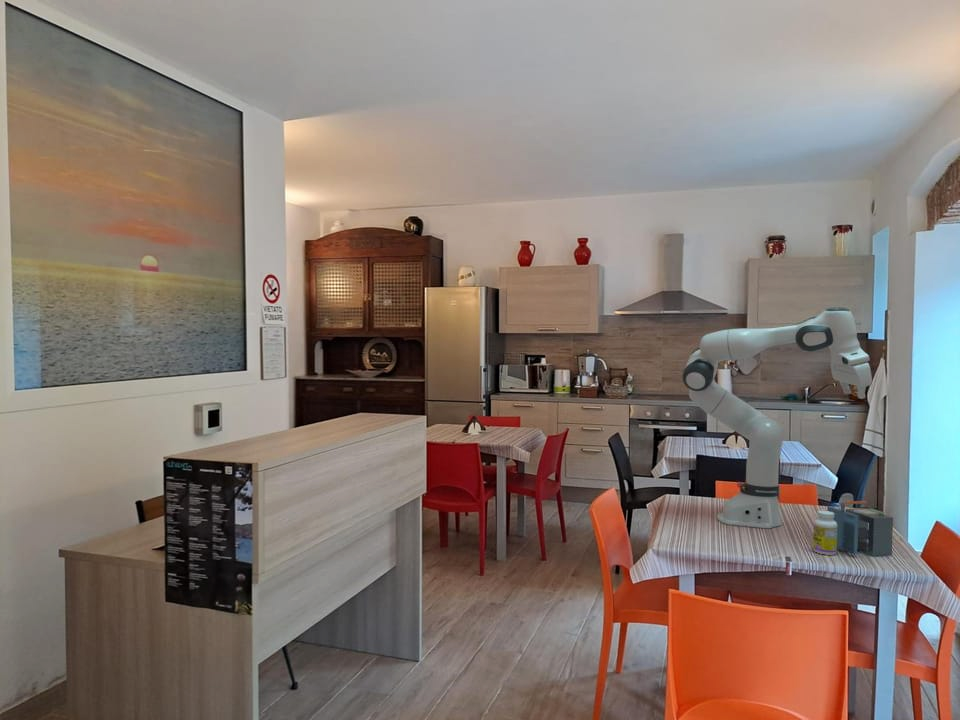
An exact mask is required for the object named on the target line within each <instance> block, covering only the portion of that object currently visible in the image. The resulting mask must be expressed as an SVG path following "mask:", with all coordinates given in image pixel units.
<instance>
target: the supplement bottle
mask: <svg viewBox="0 0 960 720" xmlns="http://www.w3.org/2000/svg"><path fill="white" fill-rule="evenodd" d="M817 517H818V518H816V519H815V520H814V521H813V548H812V549H813V551H814V552H815V553H816V552H817V554H819V553H820V554H819V555H822V554H825V555H824V556H835V555H836V554H837V551H838V548H837V526H838V525H837V523H836V522H835V521H834V520H833V518H834V513H833V512H830V511H828V510H818V511H817Z"/></svg>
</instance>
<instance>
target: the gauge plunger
mask: <svg viewBox="0 0 960 720" xmlns="http://www.w3.org/2000/svg"><path fill="white" fill-rule="evenodd" d="M867 503H868V502H867V500H859V501H858V500H854V501H852V500H851V501H842V502H841V503H840V508H836V507H834V506H827V511H830V512H833V513H834V518H833V520H834V521H835V522H836V523H837V525H838V526H837V549H840V550H843V551H845V552H847V553H850V554H852V555H858V551H857V547H858V540H867V539H868V531H869V528H868V529H867V528H865V527H863V528H858V516H857V515H854V514H852V513H849V512H846V505H856V504H857V505H862V504H867Z"/></svg>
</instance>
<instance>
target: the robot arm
mask: <svg viewBox="0 0 960 720" xmlns="http://www.w3.org/2000/svg"><path fill="white" fill-rule="evenodd" d="M857 335H858V329H857V325H856V322H855V318H854V315H853V313H852V311H851V310H850V309H849V308H846V307H837V306H836V307H829V308H826V309H824V310H823V311H822V312H821V313H820V314H818V316H812V317H810V318H807V319H805V320H803V321H802V322H800V323H797V324H792V325H791V324H790V325H785V326H777V327H770V328H750V327H749V328H748V327H747V328H746V327H745V328H744V327H743V328H741V327H740V328H731V329H722V330H718V331H714V332H710V333H707V334H705V335H703V336H702V337H701V339H700V340H699V341H700V342H699V347H697V348H696V349H695V350H694V351H693V352H692V353H691V355H690V356H689V357H688V360H686V363H685V367H684V369H683V372H682V381H683V384H684V385H685V387H687V388H688V389H689V391H688V396H689V398H690V400H691V401H693V403H694V404H695V405H696V406H697V407H699V408H700V409H701V410H702V411H704V412H705V413H707V414H708V415H710V416H711V417H713V418H714V419H716V420H717V421H719V422H720V423H721V424H723V425H725V426H726V427H728V428H730V429H731V430H733V431H734V432H736V433H737V434H739V435H740V436H742V437H744V438H745V439H747V440H748V441H749V442H748V443H749V444H748V445H749V446H748V454H747V458H746V466H745V467H746V468H745V469H746V471H745V473H746V474H745V482H743V483H742V482H741V481H737V482H736V487H737V488H739V491H740V492H738V493H737V494H735V495H734V496H732V497H731V498H729V499H727V500H726V501H725V503H724V505H723V509H722V512H719V513H717V515H716V519H717V521H719V522H720V523H722V524H725V525H729V526H730V525H731V526H740V527H749V528H750V527H751V528H761V529H773V528H774V527H775V528H776V527H780V526H782V525H783V522H782V519H781V514H780V506H779V500H780V493H781V492H780V491H781V490H780V485H779V468H780V459H781V454H782V453H781V452H782V448H783V447H782V445H783V439H784V431H783V428H782V426H781V425H780V424H779V423H778V421H775V420H774V419H771V418H770V417H769V416H767V415H765V414H764V413H762V412H760V411H759V410H757V409H756V408H754V407H753V406H752V405H750V404H748V403H747V402H746V401H744V400H743V399H741V398H739V397H738V396H736V395H735V394H733V393H732V392H731V391H729V390H727V389H725V388H723V387H722V386H721V385H719V384H718V383H717V382H716V380H715V377H716V375H717V374H718V373H717V372H718V369H719V366H720V363H721V362H725V361H736V360H743V359H747V358H752V357H754V356H756V355H758V354H759V353H761V352H762V351H765V350H766V349H769V348H771V347H774V346H780V345H789V344H794V343H795V344H796V345H797V346H798V348H800V349H801V350H803V351H805V352H817V351H819V350H823V349H825V348H828V349H829V353H830V357H831V360H830V371H831V376H832V378H833V380H835V381H838V382H839V384H840V386H841V388H842V389H843V390H842V391H843V393H844V394H845V395H850V394H852V389H851V388H850V385H852V386H855V387H856V389H857V393H856V395H857V398H858V399H861V400H863V399H865V398H866V389H867V387H870V386H871V385H872V383H873V377H872V371H871V366H870V364H869V361H870V355H869V354H868V353H866V352H865V351H864V350H863V349H862V348H861V344H860V341H859V340H858V336H857Z"/></svg>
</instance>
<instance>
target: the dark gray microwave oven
mask: <svg viewBox="0 0 960 720" xmlns="http://www.w3.org/2000/svg"><path fill="white" fill-rule="evenodd" d="M845 511H846V512H849V513H852V514H854V515H857V516H858V528H863V527H865V528H867V529H869V531H868V539H867V540H858V547H857V550H859V551H858V552H860V551H861V553H862V552H864V553H863V554H865V553H866V554H865V555H867V554H868V555H867V556H870V555H871V556H870V557H872V556H875V557H887V556H886V555H892V556H893V531H894V528H893V526H894V525H893V524H894V517H892V516H890V515H887V514H885V512H884V511H881V510H877V509H874V508H864V507H863V508H845Z"/></svg>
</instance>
